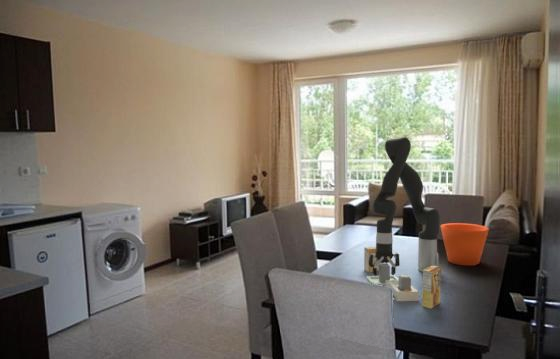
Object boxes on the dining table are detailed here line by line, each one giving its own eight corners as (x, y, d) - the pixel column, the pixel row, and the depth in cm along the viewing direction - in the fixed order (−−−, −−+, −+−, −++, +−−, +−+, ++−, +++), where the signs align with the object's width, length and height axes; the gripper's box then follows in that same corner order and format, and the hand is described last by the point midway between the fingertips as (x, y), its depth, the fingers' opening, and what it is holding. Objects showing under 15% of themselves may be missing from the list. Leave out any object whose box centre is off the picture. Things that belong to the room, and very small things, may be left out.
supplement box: (368, 274, 211) (368, 249, 210) (363, 271, 216) (363, 247, 215) (382, 272, 213) (382, 247, 212) (378, 270, 218) (378, 245, 217)
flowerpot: (437, 264, 227) (437, 229, 226) (442, 254, 249) (442, 221, 248) (487, 270, 215) (488, 232, 214) (488, 258, 237) (489, 224, 236)
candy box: (430, 300, 173) (431, 265, 172) (440, 303, 170) (441, 266, 169) (421, 306, 167) (422, 269, 166) (432, 309, 164) (432, 271, 163)
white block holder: (385, 288, 189) (385, 268, 188) (404, 288, 189) (405, 267, 188) (397, 301, 173) (397, 279, 172) (418, 300, 173) (418, 278, 172)
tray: (394, 279, 202) (394, 275, 202) (403, 287, 190) (403, 283, 190) (366, 280, 201) (366, 276, 201) (373, 288, 189) (373, 284, 189)
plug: (387, 280, 198) (387, 262, 197) (389, 282, 194) (389, 264, 193) (378, 280, 198) (378, 262, 197) (381, 283, 194) (381, 265, 193)
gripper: (396, 239, 198) (396, 272, 199) (367, 240, 198) (367, 273, 199) (401, 242, 191) (401, 277, 192) (371, 243, 190) (371, 277, 191)
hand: (383, 275), depth 195 cm, fingers open, 8 cm apart
